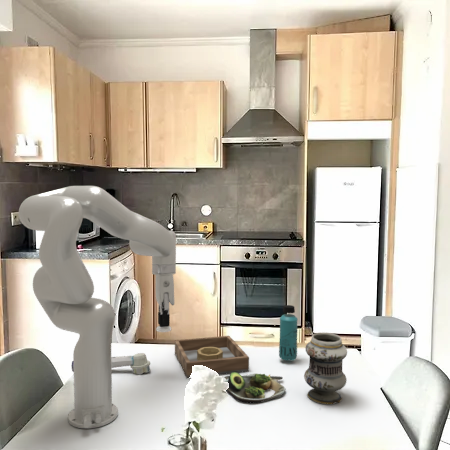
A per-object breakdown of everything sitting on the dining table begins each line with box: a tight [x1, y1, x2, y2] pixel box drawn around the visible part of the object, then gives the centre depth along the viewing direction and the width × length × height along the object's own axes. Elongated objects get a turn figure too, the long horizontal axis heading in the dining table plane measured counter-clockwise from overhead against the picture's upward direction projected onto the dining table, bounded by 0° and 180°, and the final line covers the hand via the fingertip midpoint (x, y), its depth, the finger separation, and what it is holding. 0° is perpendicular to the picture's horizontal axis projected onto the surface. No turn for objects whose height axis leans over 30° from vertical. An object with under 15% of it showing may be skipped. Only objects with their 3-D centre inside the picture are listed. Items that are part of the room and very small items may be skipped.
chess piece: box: [155, 303, 172, 333], centre depth 141 cm, size 5×5×10 cm
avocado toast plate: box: [223, 372, 286, 404], centre depth 133 cm, size 19×18×5 cm
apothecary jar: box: [303, 332, 348, 405], centre depth 127 cm, size 12×12×18 cm
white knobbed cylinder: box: [71, 352, 151, 375], centre depth 144 cm, size 5×7×25 cm
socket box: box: [174, 335, 250, 379], centre depth 153 cm, size 23×21×5 cm
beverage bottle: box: [278, 304, 299, 361], centre depth 154 cm, size 6×7×20 cm
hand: (163, 324), depth 141 cm, fingers closed on chess piece
